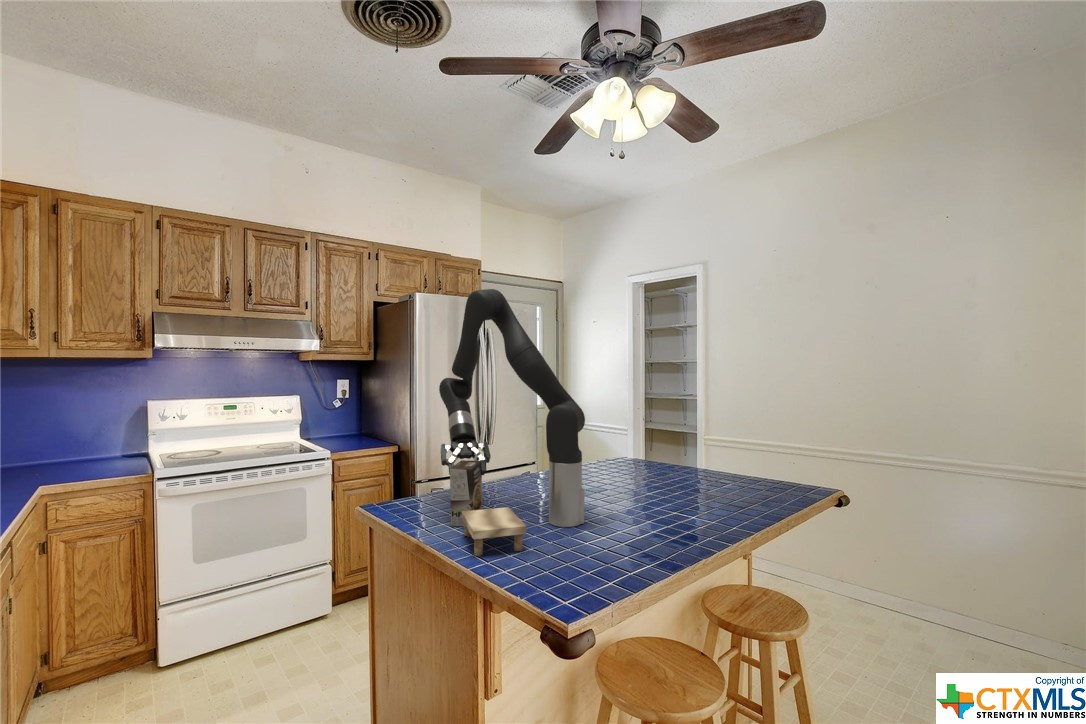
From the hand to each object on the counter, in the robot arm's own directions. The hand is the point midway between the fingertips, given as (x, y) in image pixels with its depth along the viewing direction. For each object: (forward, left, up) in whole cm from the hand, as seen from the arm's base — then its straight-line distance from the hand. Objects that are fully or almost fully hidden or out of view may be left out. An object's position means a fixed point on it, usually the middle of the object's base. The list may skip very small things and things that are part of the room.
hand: (468, 474), depth 142 cm
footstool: (-3, +19, -13) cm, 23 cm away
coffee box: (0, +1, -13) cm, 13 cm away
